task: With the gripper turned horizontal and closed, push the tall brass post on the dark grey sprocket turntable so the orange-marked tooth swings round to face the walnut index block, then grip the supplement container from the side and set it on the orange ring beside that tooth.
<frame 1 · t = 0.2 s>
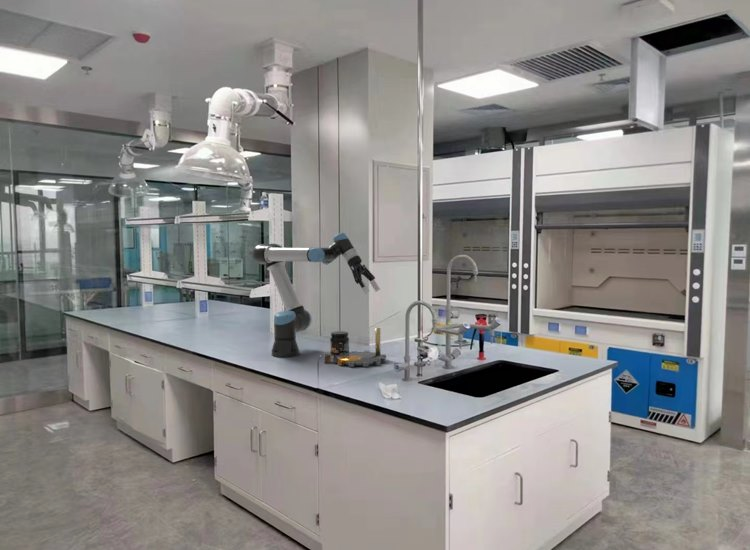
hand: (372, 291, 278), 35 cm above the countertop, fingers open, 13 cm apart
index mark: (327, 362, 267), on the countertop
supplement container: (339, 354, 287), on the countertop
turntable: (359, 345, 268), point 8 cm above the countertop, hinge at 0.0°
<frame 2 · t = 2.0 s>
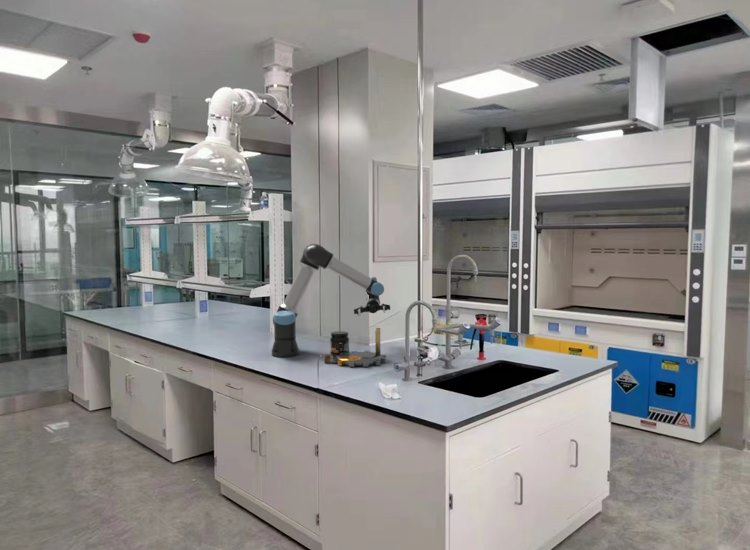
hand: (371, 311, 280), 24 cm above the countertop, fingers open, 13 cm apart
nothing on the countertop moved.
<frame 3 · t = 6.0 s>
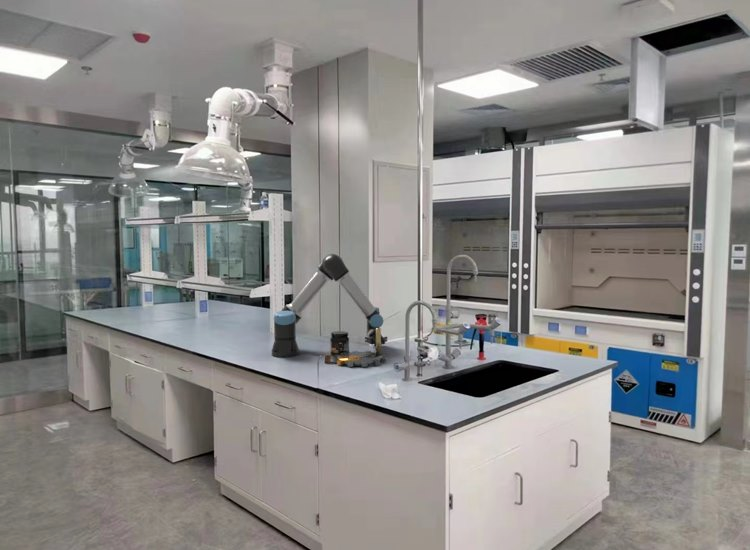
hand: (379, 344, 274), 7 cm above the countertop, fingers closed
turntable: (359, 345, 268), point 8 cm above the countertop, hinge at -2.8°, touching gripper
everything else where it was.
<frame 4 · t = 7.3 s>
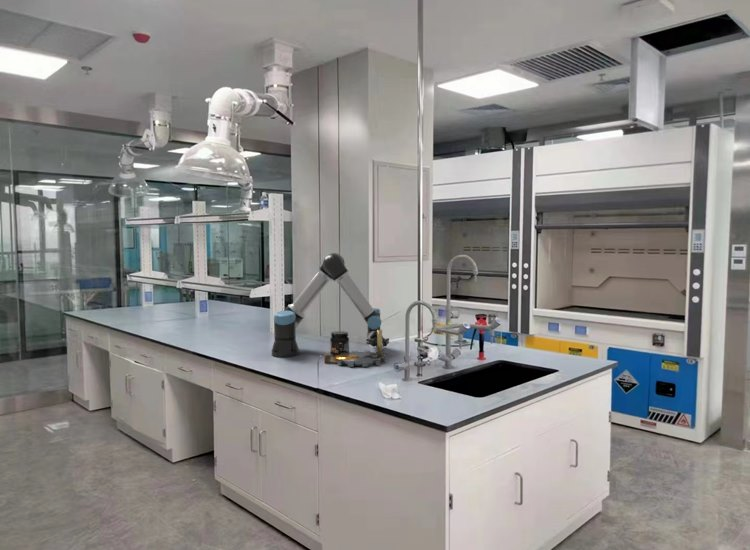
hand: (381, 346, 269), 7 cm above the countertop, fingers closed
turntable: (359, 345, 268), point 8 cm above the countertop, hinge at -31.5°, touching gripper
everything else where it was.
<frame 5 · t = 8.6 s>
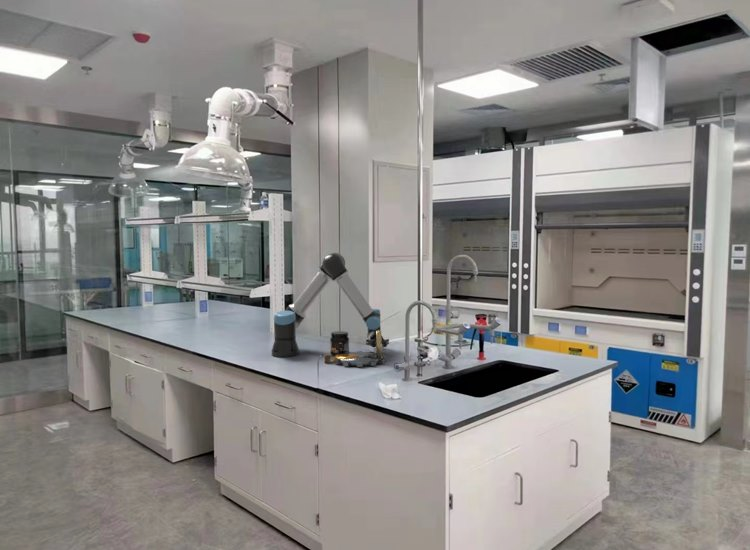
hand: (381, 347, 266), 7 cm above the countertop, fingers closed
turntable: (359, 345, 268), point 8 cm above the countertop, hinge at -43.0°, touching gripper
everything else where it was.
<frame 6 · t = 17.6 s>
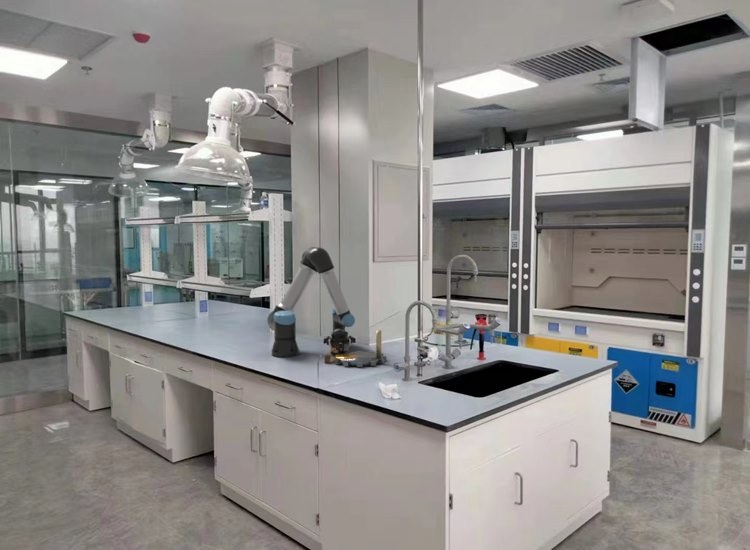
hand: (339, 343, 282), 7 cm above the countertop, fingers closed on supplement container, 10 cm apart
supplement container: (339, 354, 287), on the countertop, touching gripper
turntable: (359, 345, 268), point 8 cm above the countertop, hinge at -43.0°
when the fingers open (11 cm above the countertop, at t = 23.3 s): supplement container drops 1 cm, resting on turntable.
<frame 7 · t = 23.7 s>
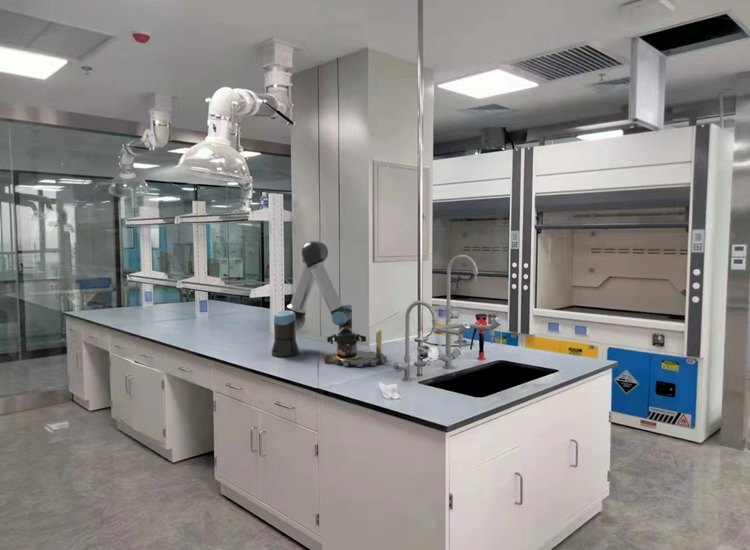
hand: (347, 342, 264), 11 cm above the countertop, fingers open, 13 cm apart
supplement container: (346, 356, 268), point 3 cm above the countertop, touching turntable
turntable: (359, 345, 268), point 8 cm above the countertop, hinge at -43.0°, touching supplement container
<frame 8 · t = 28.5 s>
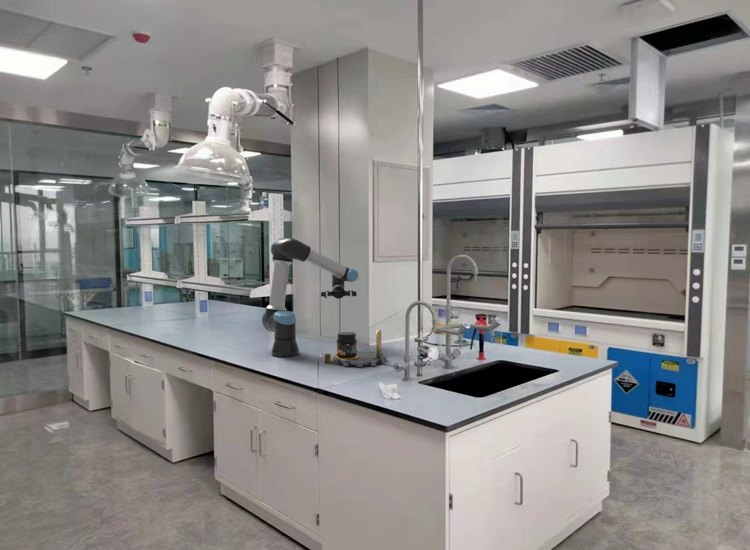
hand: (339, 295, 289), 32 cm above the countertop, fingers open, 13 cm apart
nothing on the countertop moved.
at the end: turntable at -43° (first picture: +0°); supplement container 0.1 cm from the target spot, point 2.5 cm above the countertop; supplement container tilted 0° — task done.
